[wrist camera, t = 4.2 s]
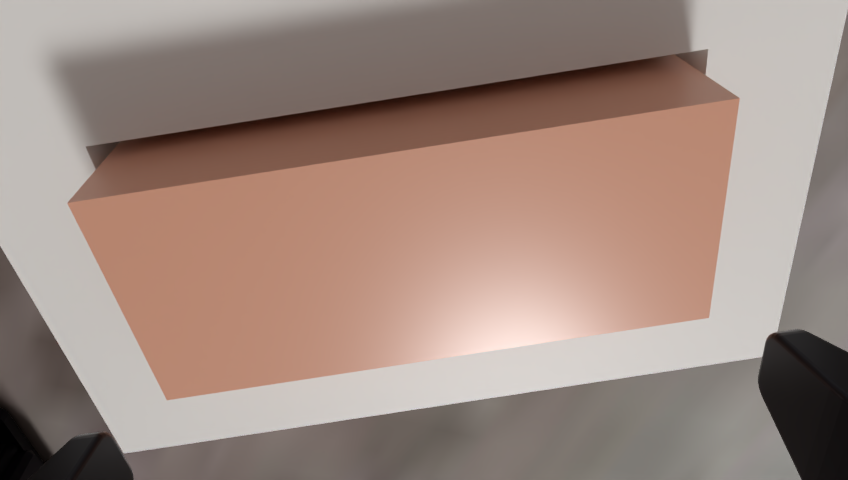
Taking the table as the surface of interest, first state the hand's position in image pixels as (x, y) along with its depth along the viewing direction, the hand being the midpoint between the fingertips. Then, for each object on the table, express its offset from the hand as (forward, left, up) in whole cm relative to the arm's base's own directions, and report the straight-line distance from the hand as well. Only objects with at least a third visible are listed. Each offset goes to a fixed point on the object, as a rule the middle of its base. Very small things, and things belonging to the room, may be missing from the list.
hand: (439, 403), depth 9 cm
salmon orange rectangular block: (0, -1, -8) cm, 8 cm away
